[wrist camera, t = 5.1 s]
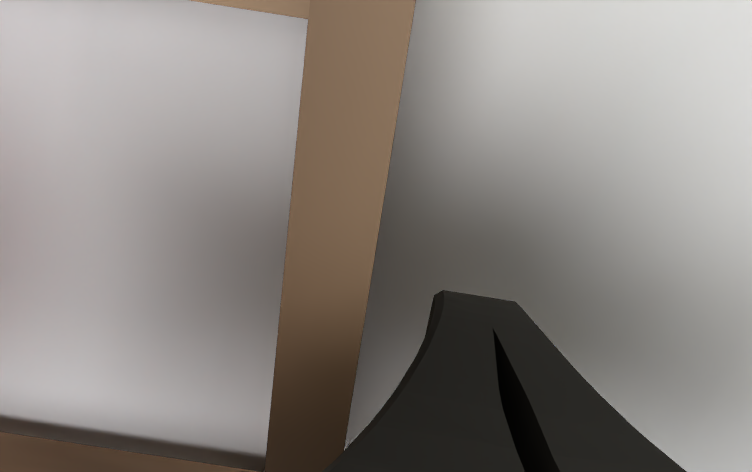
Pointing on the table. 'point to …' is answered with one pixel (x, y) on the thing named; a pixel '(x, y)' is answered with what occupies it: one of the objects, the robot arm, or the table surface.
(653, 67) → the table surface
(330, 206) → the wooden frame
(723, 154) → the table surface
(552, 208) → the table surface
